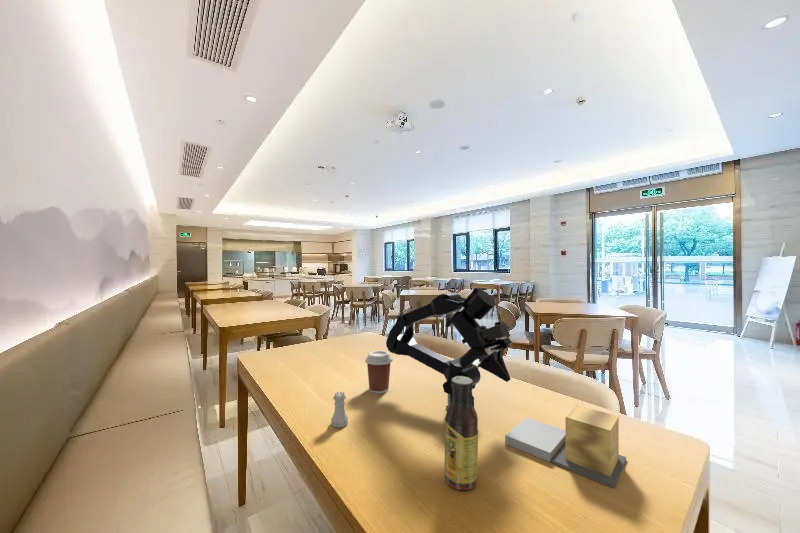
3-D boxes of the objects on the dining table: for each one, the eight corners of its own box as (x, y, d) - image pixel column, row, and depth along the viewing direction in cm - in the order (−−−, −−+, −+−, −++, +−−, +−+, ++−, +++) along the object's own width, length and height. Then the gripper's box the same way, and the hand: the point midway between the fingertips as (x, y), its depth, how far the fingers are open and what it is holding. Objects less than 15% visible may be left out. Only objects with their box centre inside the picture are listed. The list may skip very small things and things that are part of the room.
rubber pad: (551, 462, 67) (551, 460, 67) (569, 440, 76) (569, 437, 76) (613, 488, 59) (613, 485, 59) (626, 459, 68) (626, 457, 68)
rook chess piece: (351, 421, 85) (351, 391, 85) (343, 429, 81) (343, 398, 81) (336, 418, 86) (336, 389, 86) (327, 426, 82) (327, 395, 82)
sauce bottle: (441, 471, 64) (441, 373, 64) (471, 470, 65) (471, 372, 65) (449, 495, 58) (448, 385, 58) (482, 493, 58) (482, 384, 58)
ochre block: (565, 459, 67) (565, 416, 67) (576, 444, 73) (576, 404, 73) (610, 477, 62) (610, 430, 62) (618, 458, 67) (618, 416, 67)
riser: (505, 443, 74) (505, 435, 74) (526, 425, 83) (526, 417, 83) (550, 462, 67) (550, 452, 67) (568, 439, 76) (568, 431, 76)
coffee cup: (360, 392, 104) (360, 355, 104) (372, 382, 113) (372, 348, 112) (385, 396, 101) (385, 358, 101) (396, 386, 109) (396, 351, 109)
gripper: (469, 315, 77) (514, 372, 69) (505, 307, 90) (546, 354, 82) (443, 342, 82) (481, 398, 75) (480, 331, 96) (516, 377, 88)
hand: (508, 380), depth 80 cm, fingers closed
